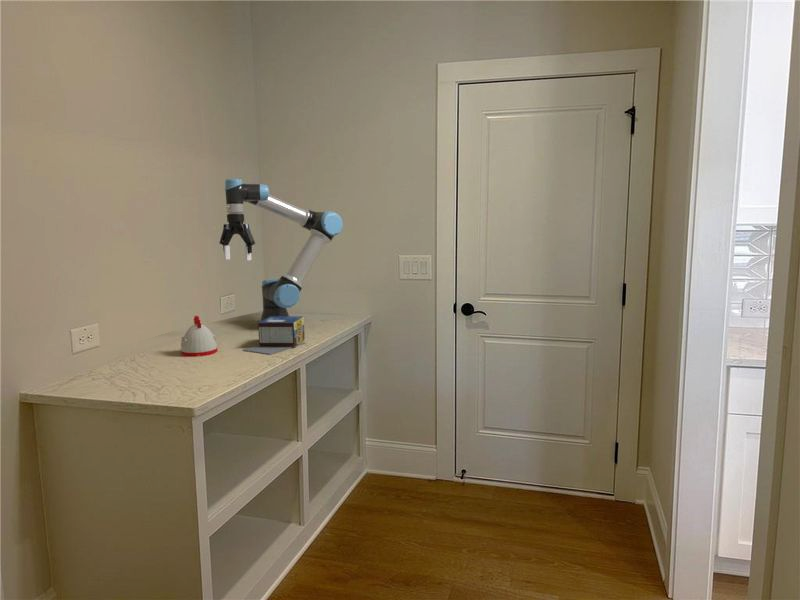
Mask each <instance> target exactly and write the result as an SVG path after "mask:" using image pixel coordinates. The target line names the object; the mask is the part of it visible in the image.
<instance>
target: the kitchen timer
mask: <svg viewBox="0 0 800 600" xmlns="http://www.w3.org/2000/svg"><path fill="white" fill-rule="evenodd" d="M193 317H194V318H193V323H194V324H193V325H192V326H190V327H189V328H188V329H187V330H186V332H185V334H184V336H181V342H180V355H181V356H182V357H190V358H191V357H192V358H195V357H206V356H209V355H210V356H211V355H213V354H214V355H215V354H217V353H218V344H217V338H216V335H215V334H214V333H213V332H212V331H211V330H210V329H209V328H208V327H207V326H206V325H204V324H202V323H201V320H200V316H198V315H194V316H193Z"/></svg>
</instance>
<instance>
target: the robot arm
mask: <svg viewBox="0 0 800 600" xmlns="http://www.w3.org/2000/svg"><path fill="white" fill-rule="evenodd" d="M224 183H225V185H224V191H225V200H226V201H225V203H226V213H227V214H226V221H227V223H225V224H223V229H222V233H221V236H220V240H219V245H222V246H223V253H224V260H225V261H226V260H231V251H230V250H231V248H230V247H231V246H230V242H231V240H232V238H233V236H234V235H239V236H240V238H241V240H243V242H244V244H245V247H244V248H245V249H244V250H245V261H252V259H253V258H252V253H253V247H252V246H253V245H256V240H254V236H253V234H252V231H251V230H250V225H249V223H248V224H247V223H245V214H243V213H244V212H245V211H244V210H245V209H244V208H245V207H244V203H248V204H252V205H253V206H257V207H258V208H261V209H263V210H266V211H269V212H271V213H273V214H276V215H278V216H280V217H282V218H285V219H287V220H290V221H292V222H295V223H296V224H299V226H300V227H301V228H303V229H305V230H308V231H310V236H309V237H308V239H307V241H306V242H305V243H304V245H303V247H302V249H301V250H300V252H299V253H298V255H297V257H296V258H295V260H294V261H293V263H292V265H291V266H290V268H289V269H288V271H287V272H286V274H283V275H281V277H280V278H274V279H263V280H262V282H261V294H262V312H261V318H260V319H259V320H260V321H262V320H264V319H266V318H268V317H270V316H290V315H289V312H288V310H287V309H289V308H292V307H294V306H296V305H297V304H298V302H299V301H300V298H301V297H300V296H301V295H300V293H301V290H302V289H303V285H302V283H303V282H304V280H305V278H306V277H307V275H308V274H309V272H310V271H311V269H312V267H313V265H314V264H315V262H316V261H317V259H318V258H319V256H320V254H321V252H322V250H323V249H324V248H325V245H326V244H330V243H331V242H332V240H333V239H334V237H335V236H337V235H339V234H340V233H341V231H342V230H343V228H344V227H343V225H344V223H343V219H342V217H341V216H340V215H339V214H338V213H336V212H334V211H314V210H312V209H311V210H310V209H308V208H306V209H303V208H301V207H300V206H299V207H298V206H297V205H295V204H294V205H293V204H291V203H289V202H287V201H285V200H283V199H280V198H278V197H276V196H274V195H271V194H270V189H269V186H268V185H267V184H263V183H262V184H261V183H243V179H241V178H228V179H225V181H224ZM260 321H259V322H260Z"/></svg>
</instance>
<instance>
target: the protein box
mask: <svg viewBox="0 0 800 600" xmlns="http://www.w3.org/2000/svg"><path fill="white" fill-rule="evenodd" d="M257 325H258V326H257V327H258V330H257V331H258V345H259V346H260V347H293V348H296V347H295V346H297V345H298V344H299V343H300V342H304V340H305V339H306V338H305V337H306V336H305V334H306V333H305V317H304V316H290V315H289V316H270V317H268V318H266V319H264V320H262V321H259V322H258V324H257ZM297 347H298V346H297Z"/></svg>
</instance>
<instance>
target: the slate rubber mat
mask: <svg viewBox="0 0 800 600" xmlns="http://www.w3.org/2000/svg"><path fill="white" fill-rule="evenodd" d="M305 344H307V342H305V341H302V342H300V343H299V344H298V345H297V346H295V347H260V346H259V344H257V345H255V346H251V347H247V348H244V349H242V351H244V352H248V351H249V353H255V352H256V354H261V353H263V354H262V355H268V354H270V355H271V354H272V355H274V354H273V353H275V354H277V352H278V353H280V351H281V352H283V351H287V350H290V349H293V348H297V347H299V346H302V345H305ZM270 355H269V356H270ZM272 355H271V356H272Z"/></svg>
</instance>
